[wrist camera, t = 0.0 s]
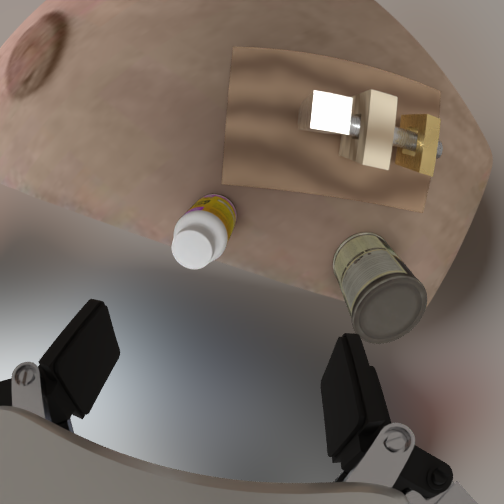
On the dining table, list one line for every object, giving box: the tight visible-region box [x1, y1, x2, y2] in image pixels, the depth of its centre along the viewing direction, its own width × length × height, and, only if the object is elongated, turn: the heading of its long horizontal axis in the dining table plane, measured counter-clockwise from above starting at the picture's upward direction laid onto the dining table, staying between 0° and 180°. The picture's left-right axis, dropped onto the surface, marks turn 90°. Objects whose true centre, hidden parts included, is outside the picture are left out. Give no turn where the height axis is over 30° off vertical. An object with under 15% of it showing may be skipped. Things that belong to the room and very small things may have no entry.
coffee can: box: [333, 232, 427, 344], centre depth 36 cm, size 10×10×14 cm
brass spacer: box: [395, 114, 441, 177], centre depth 27 cm, size 7×2×7 cm, turn 175°
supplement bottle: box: [172, 194, 237, 269], centre depth 35 cm, size 7×7×13 cm
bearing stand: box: [222, 47, 441, 213], centre depth 28 cm, size 20×31×12 cm, turn 85°
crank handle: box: [298, 90, 443, 159], centre depth 22 cm, size 18×3×11 cm, turn 85°
